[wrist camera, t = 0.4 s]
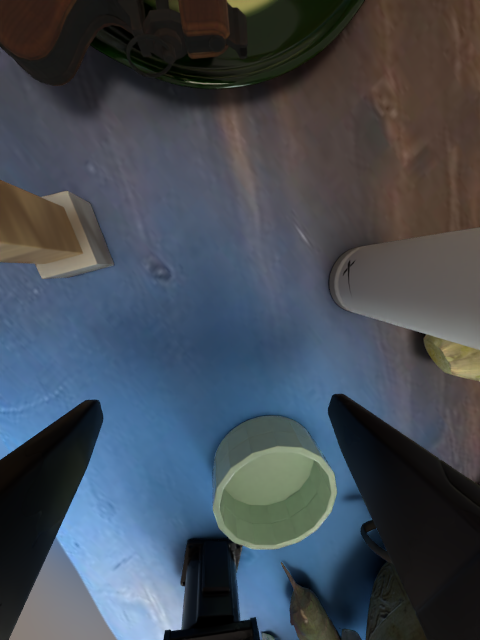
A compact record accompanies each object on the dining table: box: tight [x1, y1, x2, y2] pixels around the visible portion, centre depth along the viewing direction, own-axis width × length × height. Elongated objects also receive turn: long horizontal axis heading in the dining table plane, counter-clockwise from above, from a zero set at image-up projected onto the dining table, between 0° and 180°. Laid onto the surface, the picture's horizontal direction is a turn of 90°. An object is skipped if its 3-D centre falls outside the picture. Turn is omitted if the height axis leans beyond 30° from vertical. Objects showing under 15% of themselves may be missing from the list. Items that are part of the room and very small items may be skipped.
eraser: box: [0, 180, 114, 279], centre depth 13 cm, size 5×4×11 cm
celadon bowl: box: [213, 416, 337, 549], centre depth 23 cm, size 12×12×4 cm
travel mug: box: [329, 227, 480, 350], centre depth 13 cm, size 6×7×20 cm
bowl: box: [366, 561, 427, 640], centre depth 27 cm, size 24×24×10 cm
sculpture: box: [281, 562, 342, 640], centre depth 28 cm, size 5×19×5 cm
